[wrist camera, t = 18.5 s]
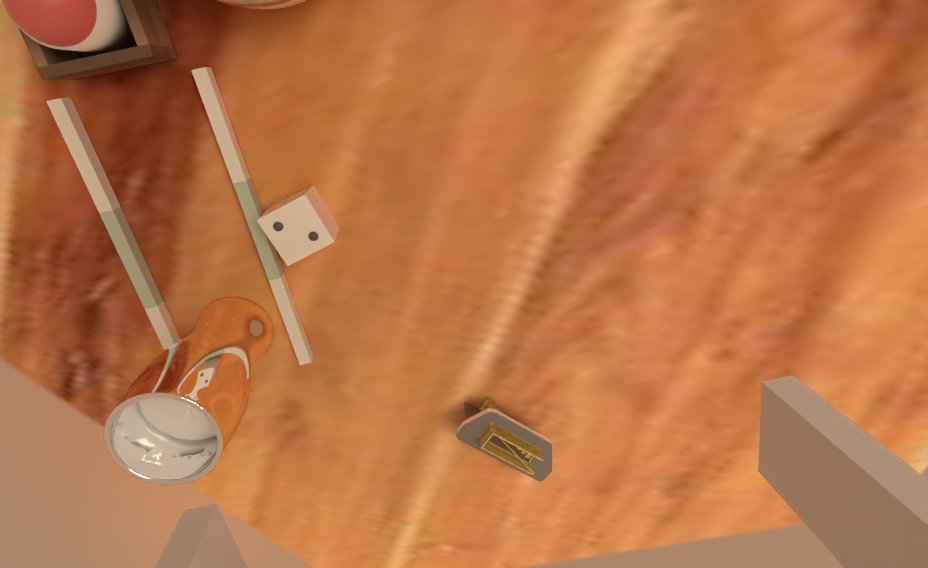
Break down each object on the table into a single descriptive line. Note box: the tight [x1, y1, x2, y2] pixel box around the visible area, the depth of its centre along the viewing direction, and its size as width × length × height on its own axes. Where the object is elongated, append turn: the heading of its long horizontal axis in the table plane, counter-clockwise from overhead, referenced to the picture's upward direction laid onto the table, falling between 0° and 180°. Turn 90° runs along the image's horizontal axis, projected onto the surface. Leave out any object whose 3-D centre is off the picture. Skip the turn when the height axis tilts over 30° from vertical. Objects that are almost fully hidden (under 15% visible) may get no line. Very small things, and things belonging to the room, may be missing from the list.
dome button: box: [3, 0, 134, 54], centre depth 32 cm, size 5×5×7 cm
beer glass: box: [104, 298, 273, 485], centre depth 38 cm, size 7×7×15 cm
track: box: [46, 67, 313, 365], centre depth 41 cm, size 24×11×1 cm, turn 11°
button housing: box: [18, 0, 177, 80], centre depth 34 cm, size 7×7×4 cm
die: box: [257, 185, 340, 266], centre depth 41 cm, size 4×4×4 cm
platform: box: [456, 397, 552, 481], centre depth 49 cm, size 12×18×7 cm, turn 54°
